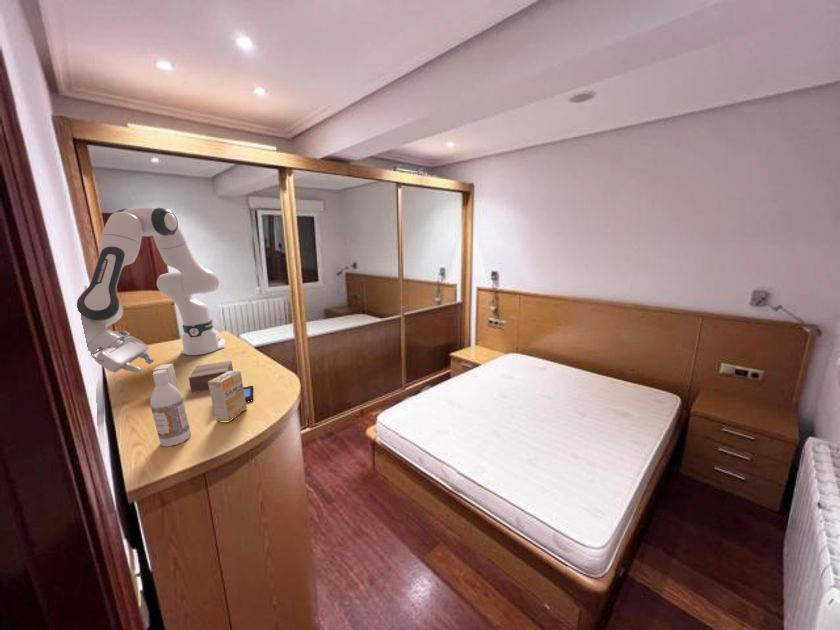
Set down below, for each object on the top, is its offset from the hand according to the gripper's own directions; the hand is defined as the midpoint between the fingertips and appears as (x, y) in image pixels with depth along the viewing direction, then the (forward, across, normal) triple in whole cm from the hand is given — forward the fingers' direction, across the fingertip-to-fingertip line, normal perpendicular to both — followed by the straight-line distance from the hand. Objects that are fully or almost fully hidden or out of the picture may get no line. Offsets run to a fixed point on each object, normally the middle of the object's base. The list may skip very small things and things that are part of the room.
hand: (146, 366), depth 124 cm
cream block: (+10, 0, +3) cm, 11 cm away
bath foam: (+22, -39, -8) cm, 45 cm away
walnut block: (+21, 0, -7) cm, 22 cm away
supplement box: (+30, -30, -16) cm, 46 cm away
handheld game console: (+29, -17, -15) cm, 37 cm away
